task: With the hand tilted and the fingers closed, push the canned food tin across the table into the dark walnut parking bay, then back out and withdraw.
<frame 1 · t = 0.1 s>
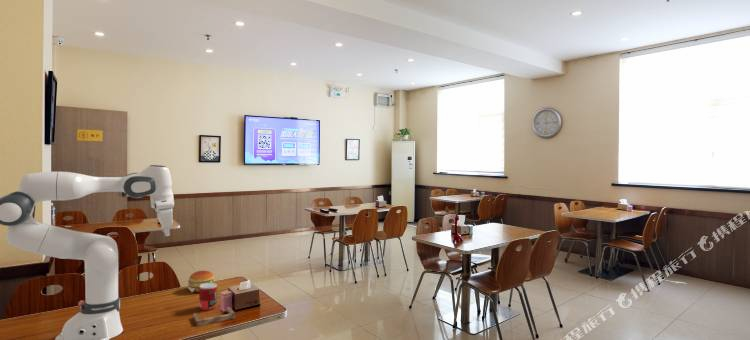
hand: (166, 233, 177), 39 cm above the table, tool pointing down, fingers open, 8 cm apart
bay: (214, 317, 185), on the table
burger: (201, 290, 221), on the table
canned food: (208, 308, 196), on the table
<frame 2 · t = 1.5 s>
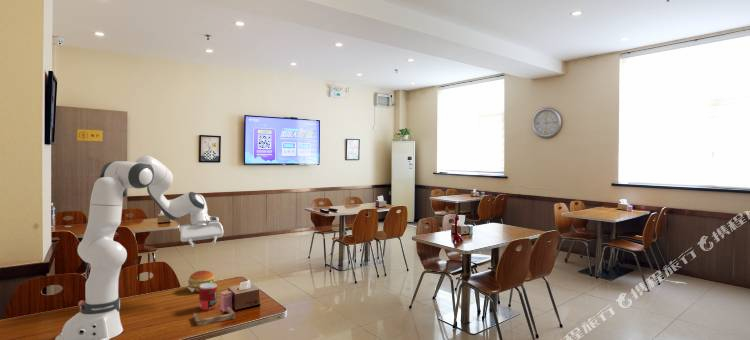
hand: (204, 245, 204), 28 cm above the table, tool tilted 45°, fingers open, 8 cm apart
nothing on the table moved.
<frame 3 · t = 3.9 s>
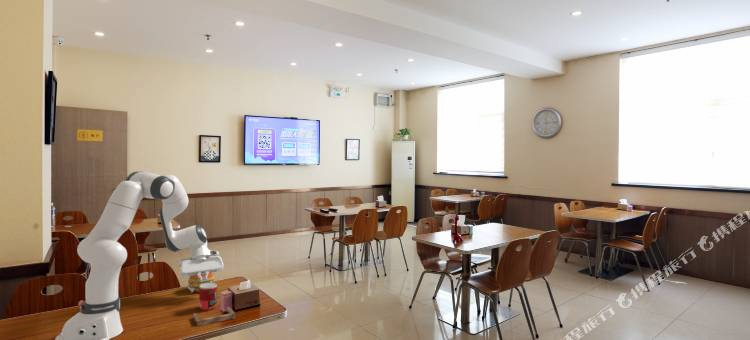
hand: (204, 280, 205), 10 cm above the table, tool tilted 45°, fingers closed
nothing on the table moved.
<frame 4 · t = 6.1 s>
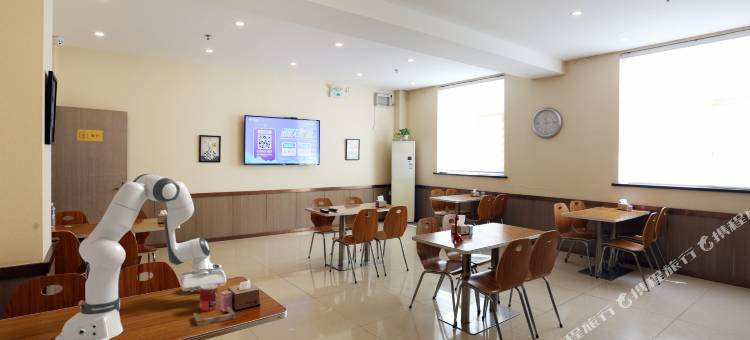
hand: (206, 295, 199), 5 cm above the table, tool tilted 45°, fingers closed, pressing on canned food
canned food: (208, 308, 195), on the table, touching gripper
everything else where it was.
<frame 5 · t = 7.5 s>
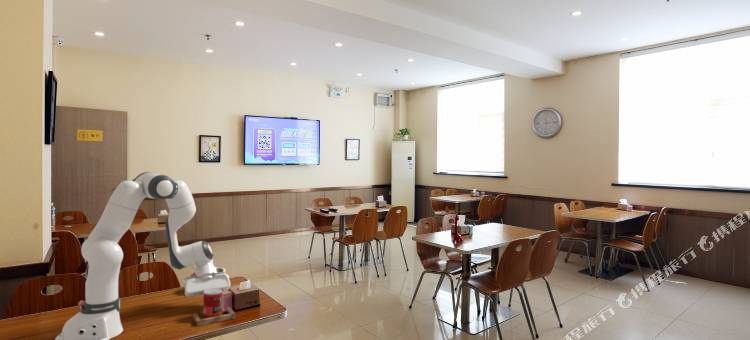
hand: (210, 300, 192), 5 cm above the table, tool tilted 45°, fingers closed, pressing on canned food
canned food: (212, 314, 189), on the table, touching gripper
everything else where it was.
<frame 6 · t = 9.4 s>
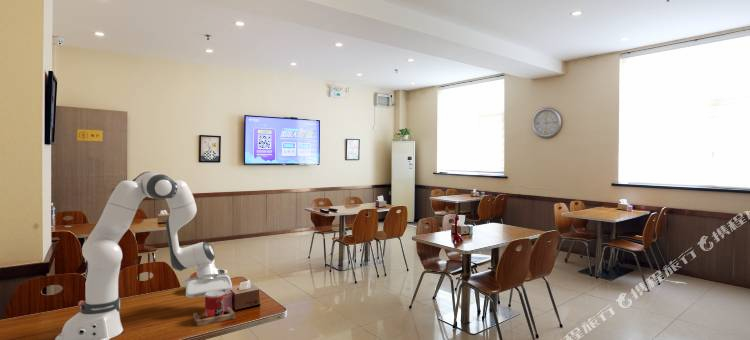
hand: (211, 302, 190), 5 cm above the table, tool tilted 45°, fingers closed
canned food: (214, 317, 186), on the table
everything else where it was.
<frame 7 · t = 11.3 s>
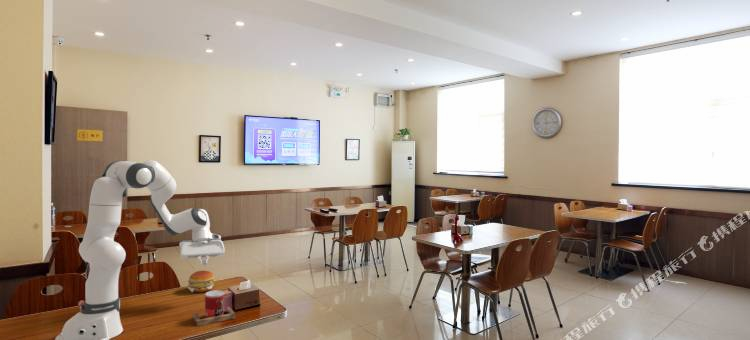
hand: (203, 264, 199), 20 cm above the table, tool tilted 40°, fingers closed
nothing on the table moved.
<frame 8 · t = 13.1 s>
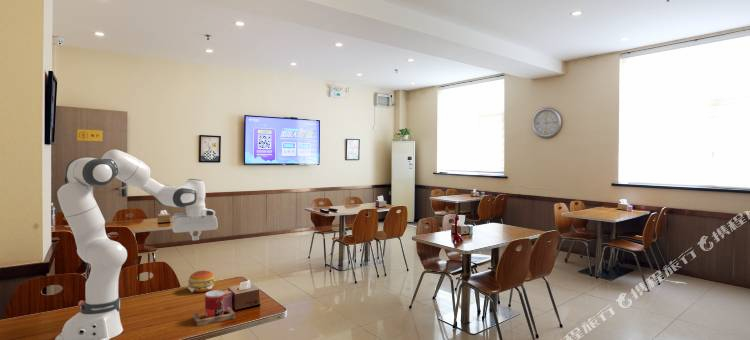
hand: (195, 240, 201), 31 cm above the table, tool pointing down, fingers closed
nothing on the table moved.
at the end: canned food inside the target area (0.6 cm from its centre), on the table; canned food tilted 0° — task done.
